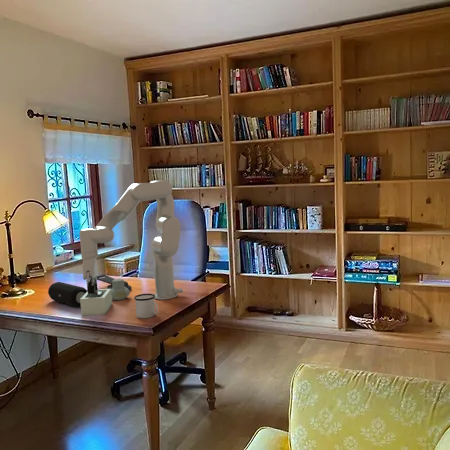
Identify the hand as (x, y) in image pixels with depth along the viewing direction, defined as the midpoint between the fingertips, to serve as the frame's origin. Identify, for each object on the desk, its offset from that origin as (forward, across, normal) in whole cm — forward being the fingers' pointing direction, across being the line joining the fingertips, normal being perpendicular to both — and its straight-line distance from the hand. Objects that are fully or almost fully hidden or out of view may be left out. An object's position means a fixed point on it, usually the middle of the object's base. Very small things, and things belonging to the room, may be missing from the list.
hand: (92, 291), depth 227 cm
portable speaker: (+10, -14, -16) cm, 24 cm away
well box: (+9, 0, +2) cm, 9 cm away
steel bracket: (+2, 0, +2) cm, 3 cm away
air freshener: (+9, -18, +9) cm, 22 cm away
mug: (+9, +14, +28) cm, 32 cm away
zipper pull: (+9, -40, +1) cm, 41 cm away
